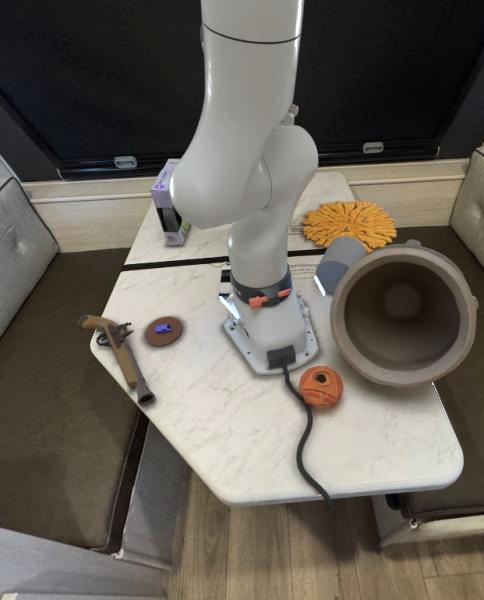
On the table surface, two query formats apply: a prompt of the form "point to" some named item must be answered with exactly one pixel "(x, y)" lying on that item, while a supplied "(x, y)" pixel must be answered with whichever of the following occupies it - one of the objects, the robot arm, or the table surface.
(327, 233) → the coral
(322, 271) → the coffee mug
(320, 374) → the pot
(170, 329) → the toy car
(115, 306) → the table surface
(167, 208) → the cake pan box
